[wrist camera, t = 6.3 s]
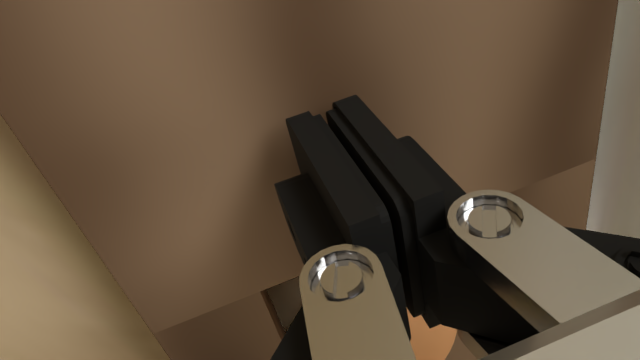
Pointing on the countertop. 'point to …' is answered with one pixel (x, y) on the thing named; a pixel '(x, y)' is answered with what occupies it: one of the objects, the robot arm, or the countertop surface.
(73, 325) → the countertop surface
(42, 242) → the countertop surface
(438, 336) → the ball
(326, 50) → the board
